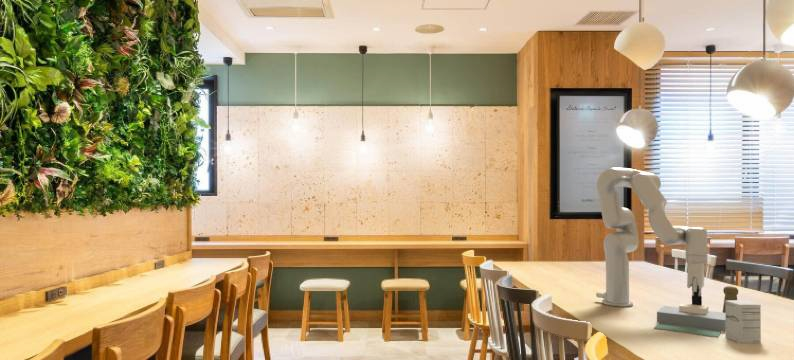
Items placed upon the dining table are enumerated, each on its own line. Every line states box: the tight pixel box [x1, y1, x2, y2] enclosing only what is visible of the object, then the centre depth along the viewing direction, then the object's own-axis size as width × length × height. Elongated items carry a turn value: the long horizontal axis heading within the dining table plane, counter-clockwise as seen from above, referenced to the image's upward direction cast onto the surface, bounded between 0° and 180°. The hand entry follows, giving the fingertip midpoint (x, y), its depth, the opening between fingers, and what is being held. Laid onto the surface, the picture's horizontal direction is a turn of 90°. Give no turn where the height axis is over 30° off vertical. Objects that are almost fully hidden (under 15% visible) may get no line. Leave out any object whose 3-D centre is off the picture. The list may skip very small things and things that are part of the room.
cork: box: [721, 285, 739, 313], centre depth 220 cm, size 6×6×11 cm
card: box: [678, 302, 709, 314], centre depth 206 cm, size 9×6×2 cm, turn 54°
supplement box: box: [725, 299, 762, 344], centre depth 180 cm, size 7×7×13 cm
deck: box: [656, 305, 726, 332], centre depth 204 cm, size 22×14×4 cm, turn 54°
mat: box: [653, 323, 722, 338], centre depth 193 cm, size 20×10×1 cm, turn 54°
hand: (696, 305), depth 212 cm, fingers closed
